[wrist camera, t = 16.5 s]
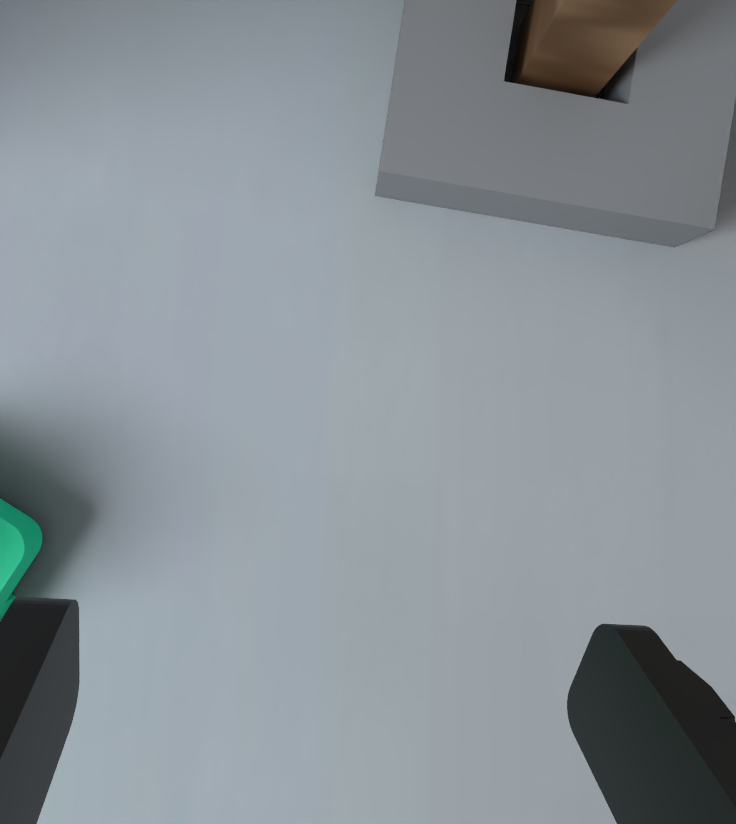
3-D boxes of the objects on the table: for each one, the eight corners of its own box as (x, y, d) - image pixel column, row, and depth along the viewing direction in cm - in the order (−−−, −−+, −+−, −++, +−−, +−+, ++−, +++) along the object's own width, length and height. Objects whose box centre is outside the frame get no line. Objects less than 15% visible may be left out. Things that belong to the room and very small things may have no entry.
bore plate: (375, 195, 28) (379, 171, 25) (422, -117, 27) (433, -180, 24) (674, 247, 28) (714, 229, 25) (723, -57, 28) (769, -111, 25)
